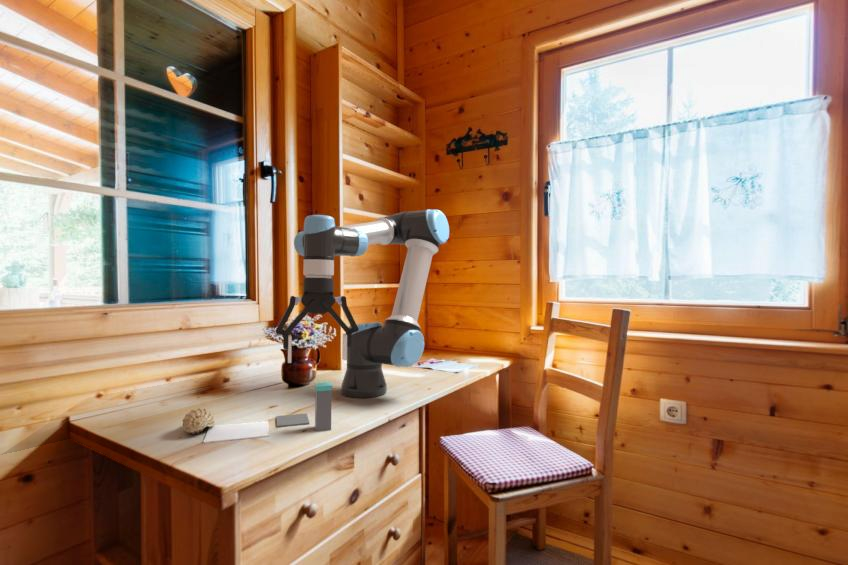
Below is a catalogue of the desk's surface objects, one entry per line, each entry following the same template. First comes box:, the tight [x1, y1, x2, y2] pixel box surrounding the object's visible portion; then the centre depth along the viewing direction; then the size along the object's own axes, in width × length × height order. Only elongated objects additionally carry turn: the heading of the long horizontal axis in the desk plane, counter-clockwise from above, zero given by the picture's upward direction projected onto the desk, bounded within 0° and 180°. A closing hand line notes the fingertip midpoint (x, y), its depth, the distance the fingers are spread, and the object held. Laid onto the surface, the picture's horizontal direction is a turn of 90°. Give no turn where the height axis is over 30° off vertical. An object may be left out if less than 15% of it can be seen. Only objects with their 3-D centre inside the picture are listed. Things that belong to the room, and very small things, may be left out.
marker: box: [314, 381, 333, 432], centre depth 110 cm, size 4×4×11 cm
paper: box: [202, 420, 270, 444], centre depth 106 cm, size 14×11×1 cm
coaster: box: [275, 413, 310, 428], centre depth 115 cm, size 8×8×1 cm
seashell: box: [182, 408, 216, 435], centre depth 107 cm, size 8×6×10 cm
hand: (317, 360), depth 110 cm, fingers open, 13 cm apart
